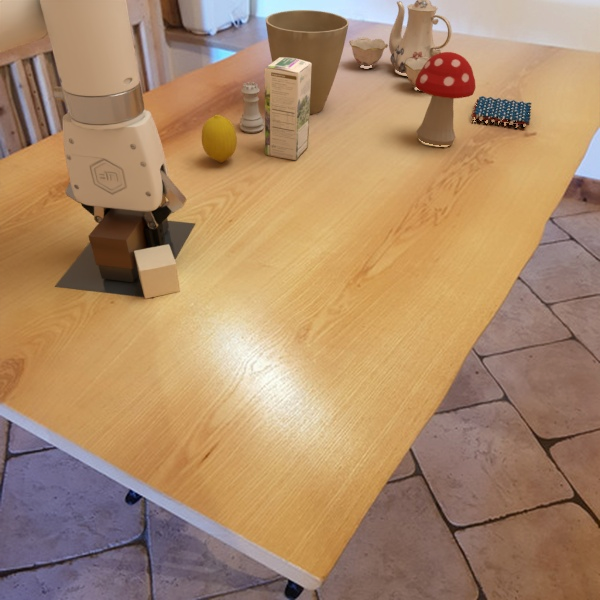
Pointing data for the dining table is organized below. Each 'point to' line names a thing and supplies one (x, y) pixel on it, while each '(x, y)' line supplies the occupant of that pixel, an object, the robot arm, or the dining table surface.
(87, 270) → the tile
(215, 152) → the lemon
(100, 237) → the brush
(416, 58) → the chinaware
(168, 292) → the chalk block
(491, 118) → the woven mat
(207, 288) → the dining table surface
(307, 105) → the syrup box
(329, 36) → the plant pot
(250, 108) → the rook chess piece
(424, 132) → the decorative mushroom
